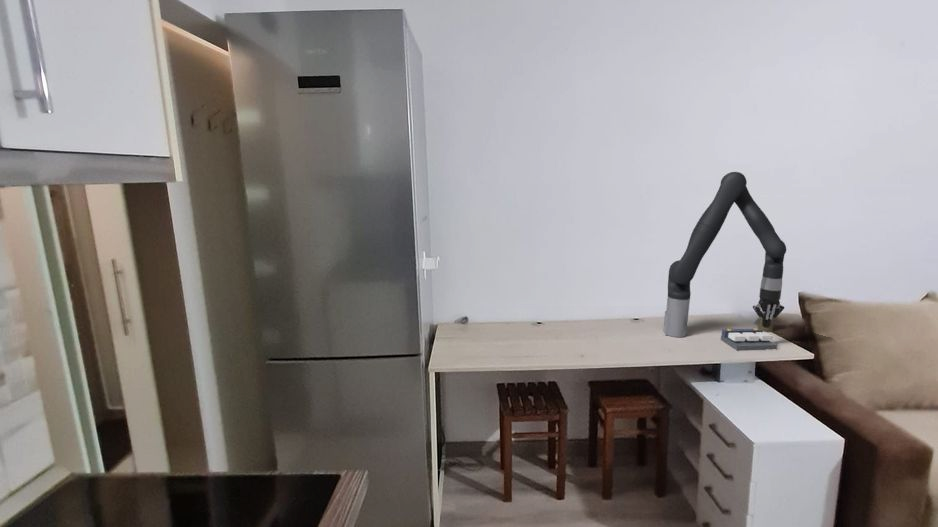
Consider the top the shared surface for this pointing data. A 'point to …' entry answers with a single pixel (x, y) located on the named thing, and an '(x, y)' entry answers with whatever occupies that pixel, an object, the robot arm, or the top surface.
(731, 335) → the inner key
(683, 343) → the top surface
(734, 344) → the keypad
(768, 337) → the outer key
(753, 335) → the middle key
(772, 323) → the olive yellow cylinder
